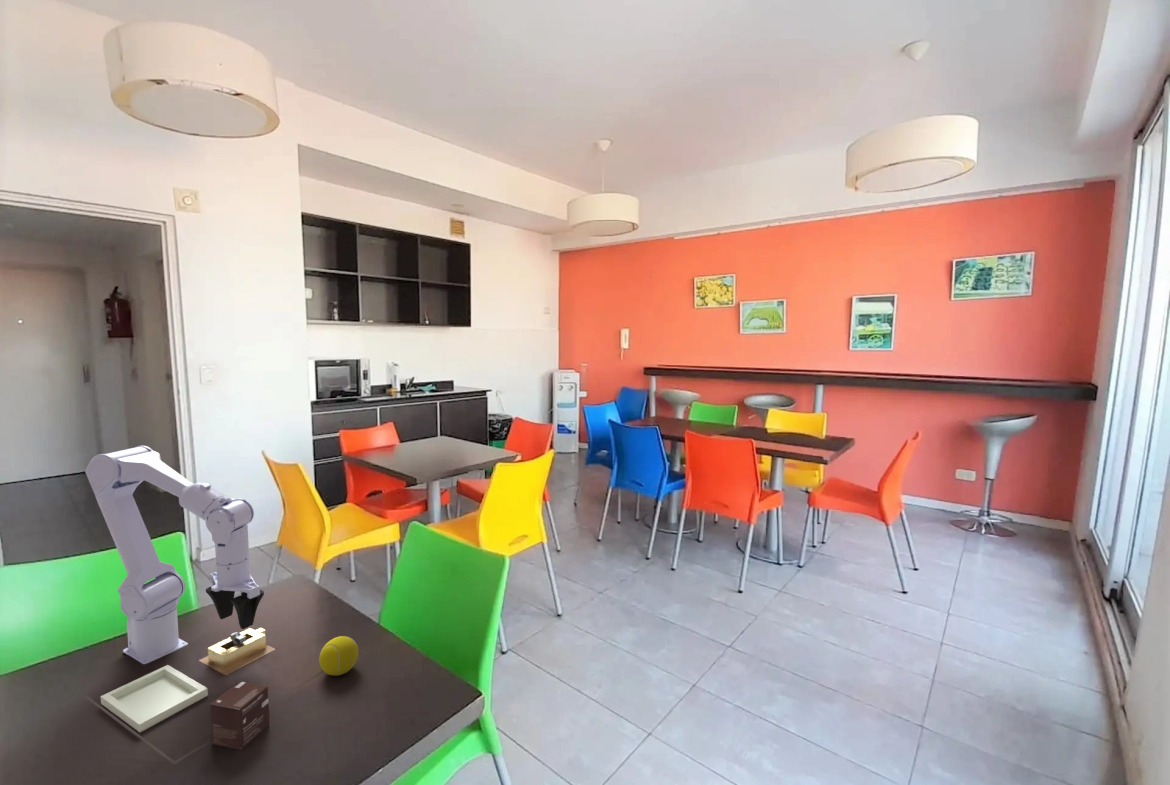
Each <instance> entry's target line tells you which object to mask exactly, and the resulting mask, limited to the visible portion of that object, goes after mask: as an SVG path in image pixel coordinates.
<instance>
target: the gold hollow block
mask: <svg viewBox="0 0 1170 785" xmlns="http://www.w3.org/2000/svg"><path fill="white" fill-rule="evenodd" d="M239 633H241V634H242V635H244V636H246V641H245V642H243V643H241V644H238V645H236V646H234V647H233V640H231V639H230V637H228V638H226V639H222V641H219V642H217V643H215V644H212V645H211V646H209V647H207V656H208V660H209V662H210V663H212V664H214V665H216V666H218V667H220V668H221V669H223V670H225V669H226V668H228V667H230V666H232V665H234V664H236V663H238V662H240V661H242V660H244V659H246V658H248V657H250V656H252V655H254V654H255V653H257V652H259V651H261V650H263V649H265V648H266V645H267V644H266V643H267V638H266V629H264V628H262V627H259V628H257V629H253V628H251V627H248V628H247V629H244V630H243V631H241V632H239Z"/></svg>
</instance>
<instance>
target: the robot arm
mask: <svg viewBox="0 0 1170 785" xmlns="http://www.w3.org/2000/svg"><path fill="white" fill-rule="evenodd" d="M161 457H162V456H161V454H160V453H159V452H158V451H155V450H153V449H152V448H151V447H149V446H147V445H137V446H134V447H131V448H126V449H123V450H117V451H113V452H109V453H100V454H99V453H98V454H96V455H94V456H93V457H91V459H90V461H89V463H88V465H87V467H86V469H85V470H84V472H85V474H86V477H87V480H88V482H89V485H90V487H91V488H92V491H93V494H94V496H95V497H94V498H95V499H96V501H97V505H98V507H99V509H100V512H101V514H102V516H103V518H104V521H105V523H106V526H107V528H108V530H109V533H110V535H111V537H112V540H113V542H114V545H115V547H116V551H117V552H118V555H119V556H120V559H121V561H122V564H123V567H124V569H125V571H126V573H127V575H126V577H125V578H124V580H123V581H122V582H121V584H120V585H119V587H118V588H117V592H118V593H119V594H118V595H119V598H120V604H119V606H120V610H121V611H122V614H123V615H125V617H127V620H126V632H127V645H128V647H125V648H124V649H123V650H122V652H123V653H124V654H125V655H128V656H129V657H131V658H133V659H134V660H135V661H137V662H139V663H140V664H142V665H147V664H150V663H151V662H153V661H156V660H158V659H160V658H162V657H165V656H167V655H169V654H171V653H174V652H176V651H178V650H180V649H183V648H185V647H186V646H188V645H189V643H188V642H186V641H184V640H183V639H181V638H180V637H179V620H178V609H177V608H178V607H177V605H178V604H179V603H180V598H181V597H182V596H183V594H184V593H185V591H186V582H185V580H184V579H183V577H182V576H181V575H180V573H178V571H176V568H175V565H173V564H171V563H166V562H163V561H161V560H160V558H159V556H158V554H157V551H156V549H155V546H154V543H153V542H152V539H151V537H150V534H149V531H148V529H147V526H146V524H145V522H144V520H143V517H142V515H141V513H140V510H139V507H138V505H137V503H136V500H135V498H134V496H133V494H134V492H135V490H136V489H137V487H138V486H139V485H140V484H141V483H142V482H144V481H146V482H148V483H150V484H151V485H153V486H156V487H157V488H160V489H161V490H163V491H165V492H167V493H169V494H171V495H173V496H175V497H177V498H178V504H179V506H180V507H181V508H183V509H185V510H187V511H189V512H190V513H192V514H193V515H195V516H197V517H198V518H200V519H202V520H203V521H205V525H206V528H207V530H208V531H209V532H210V534H211V538H212V541H213V543H214V552H215V566H216V567H215V568H216V571H214V572H212V573H210V574H209V582H210V583H211V584H212V586H209V587H207V588H206V589H205V593H206V594H207V595H208V596H209V597H210V599H211V600H212V602H213V605H214V607H215V609H216V612H217V614H218V618H220V620H223V619H226V618H228V617H231V616H232V615H233V613H234V610H235V611H236V615H237V620H238V625H239V627H240V629H242V630H246V628H247V629H248V628H250V627H251V626H252V625H254V621H255V617H256V613H257V609H258V607H259V605H260V602H261V600H262V599H263V597H264V595H265V591H264V590H262V589H260V585H258V584H257V583H256V582H255V580H254V578H253V576H252V575H251V566H250V562H251V561H250V545H249V544H250V543H249V530H248V529H249V527H248V525H249V524H250V523H251V522H252V521H253V519H254V516H255V510H254V508H253V506H252V505H251V503H250V502H249V501H247V500H246V499H245V498H233V497H230V496H228V495H224V494H223V493H221V492H220V491H218V490H217V489H215V488H213V487H212V485H211V484H210V483H208V482H201V481H199V482H196V483H195V482H194V483H193V482H192V481H190V480H188V479H187V478H186V477H184V476H183V475H182V474H180V473H179V472H178V471H176V470H175V469H173V468H172V467H170V466H169V465H168V464H166V463H165V462H164V461H162V458H161ZM236 592H239V593H240V595H238V596H236V597H235V595H236V594H235V593H236Z"/></svg>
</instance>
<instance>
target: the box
mask: <svg viewBox="0 0 1170 785" xmlns="http://www.w3.org/2000/svg"><path fill="white" fill-rule="evenodd" d="M269 706H270V704H269V686H268V685H262V684H257V683H250V682H245V681H239V682H238V683H236V684H235V685H234V686H232V687H230V688H229V689H228V690H225V691H224V692H223V693H222V694H221V695H219V696H218V697H217V698H216V699H215V700H213V701H212V702H210V704H209V712H210V714H209V715H210V727H211V728H210V730H211V744H212V745H214V746H219V747H227V748H231V749H236V750H243V749H244V748H246V747H247V746H248V745H249V744H250V743H251V742H253V741H254V740H255V739H256V738H257V737H258V736H259V735H260V734H262V733H263V731H264V730H265V729H267V728H268V727H269V726H270V723H271V722H270V721H271V720H270V707H269Z"/></svg>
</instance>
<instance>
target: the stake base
mask: <svg viewBox="0 0 1170 785" xmlns="http://www.w3.org/2000/svg"><path fill="white" fill-rule="evenodd" d="M273 651H276V648H274V647H272V646H270V645H268V644H266V648H265V649H263V650H261V651H259V652H257V653H255V654H254V655H252V656H250V657H248V658H246V659H244V660H242V661H240V662H238V663H236V664H234V665H232V666H230V667H228V668H226V669H225V670H223V669H221V668H220V667H218V666H216V665H214V664H212V663H210V662H209V660H208V655H206V656H205V657H203V658H201V659H198V662H200V663H202V664H204V665H206V666H208V667H209V668H211V669H213V670H214V671H216V672H217V673H219V674H222V675H224V676H225V677H227V676H228V675H230V674H232V673H234V672H236V671H238V670H240V669H241V668H243V667H245V666H247V665H248V664H251V663H253V662H255V661H257V660H259V659H260V658H263V657H264V656H266V655H268V654H270V653H272V652H273Z"/></svg>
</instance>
